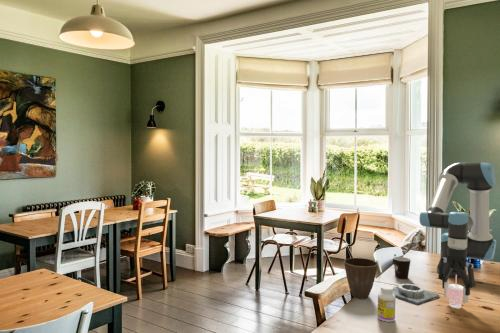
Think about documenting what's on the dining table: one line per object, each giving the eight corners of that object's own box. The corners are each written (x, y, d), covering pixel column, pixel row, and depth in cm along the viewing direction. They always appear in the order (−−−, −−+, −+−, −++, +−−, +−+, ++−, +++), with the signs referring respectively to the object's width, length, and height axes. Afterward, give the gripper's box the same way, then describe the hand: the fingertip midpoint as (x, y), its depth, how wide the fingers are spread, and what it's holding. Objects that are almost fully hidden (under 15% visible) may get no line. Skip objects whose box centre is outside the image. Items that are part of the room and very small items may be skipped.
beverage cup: (458, 303, 174) (459, 272, 174) (466, 309, 168) (467, 276, 167) (444, 303, 174) (445, 272, 173) (452, 309, 168) (453, 276, 167)
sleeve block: (404, 286, 197) (405, 279, 197) (439, 297, 182) (439, 289, 182) (382, 292, 186) (382, 285, 186) (417, 304, 172) (417, 297, 171)
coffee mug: (411, 280, 206) (412, 261, 206) (394, 278, 208) (395, 260, 208) (407, 273, 218) (407, 256, 218) (391, 272, 220) (391, 255, 219)
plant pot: (359, 304, 171) (360, 268, 171) (336, 293, 185) (337, 259, 184) (383, 298, 178) (384, 264, 178) (360, 288, 191) (361, 256, 191)
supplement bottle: (374, 315, 159) (375, 284, 158) (390, 315, 159) (391, 284, 159) (381, 322, 152) (382, 290, 152) (397, 322, 153) (398, 290, 152)
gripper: (430, 244, 176) (428, 293, 177) (477, 253, 160) (475, 308, 160) (439, 242, 181) (437, 290, 181) (486, 251, 164) (484, 305, 164)
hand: (455, 299), depth 171 cm, fingers open, 8 cm apart
